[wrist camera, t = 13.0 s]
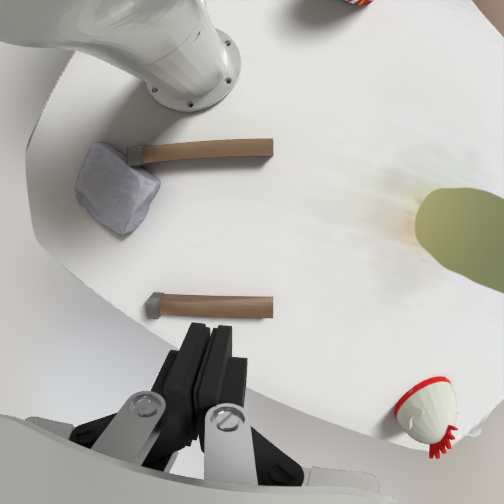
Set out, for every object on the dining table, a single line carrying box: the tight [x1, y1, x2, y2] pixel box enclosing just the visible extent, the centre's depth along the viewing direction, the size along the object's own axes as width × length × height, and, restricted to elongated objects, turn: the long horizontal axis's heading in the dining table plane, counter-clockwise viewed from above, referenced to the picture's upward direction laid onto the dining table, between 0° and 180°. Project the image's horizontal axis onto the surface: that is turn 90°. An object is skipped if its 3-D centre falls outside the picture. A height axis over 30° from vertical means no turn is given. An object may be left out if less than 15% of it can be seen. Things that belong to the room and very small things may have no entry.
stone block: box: [75, 142, 161, 235], centre depth 35 cm, size 12×5×10 cm
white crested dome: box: [395, 377, 458, 459], centre depth 39 cm, size 14×14×15 cm
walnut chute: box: [127, 139, 273, 319], centre depth 36 cm, size 23×18×4 cm
